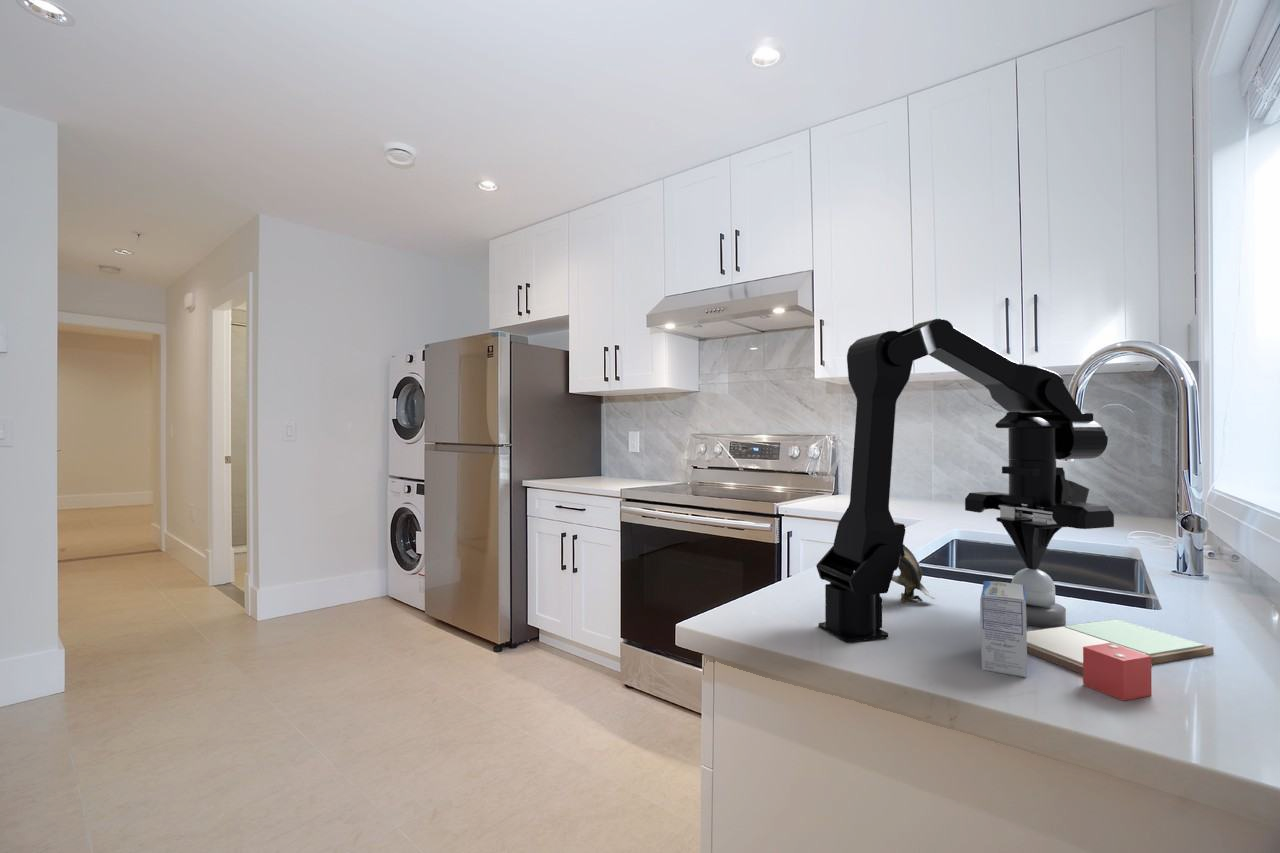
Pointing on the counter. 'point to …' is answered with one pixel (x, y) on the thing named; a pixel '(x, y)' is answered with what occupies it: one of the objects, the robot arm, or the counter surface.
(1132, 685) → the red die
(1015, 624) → the medicine box
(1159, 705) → the counter surface
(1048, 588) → the dome
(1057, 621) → the dome base
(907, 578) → the eagle figurine
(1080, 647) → the game board
